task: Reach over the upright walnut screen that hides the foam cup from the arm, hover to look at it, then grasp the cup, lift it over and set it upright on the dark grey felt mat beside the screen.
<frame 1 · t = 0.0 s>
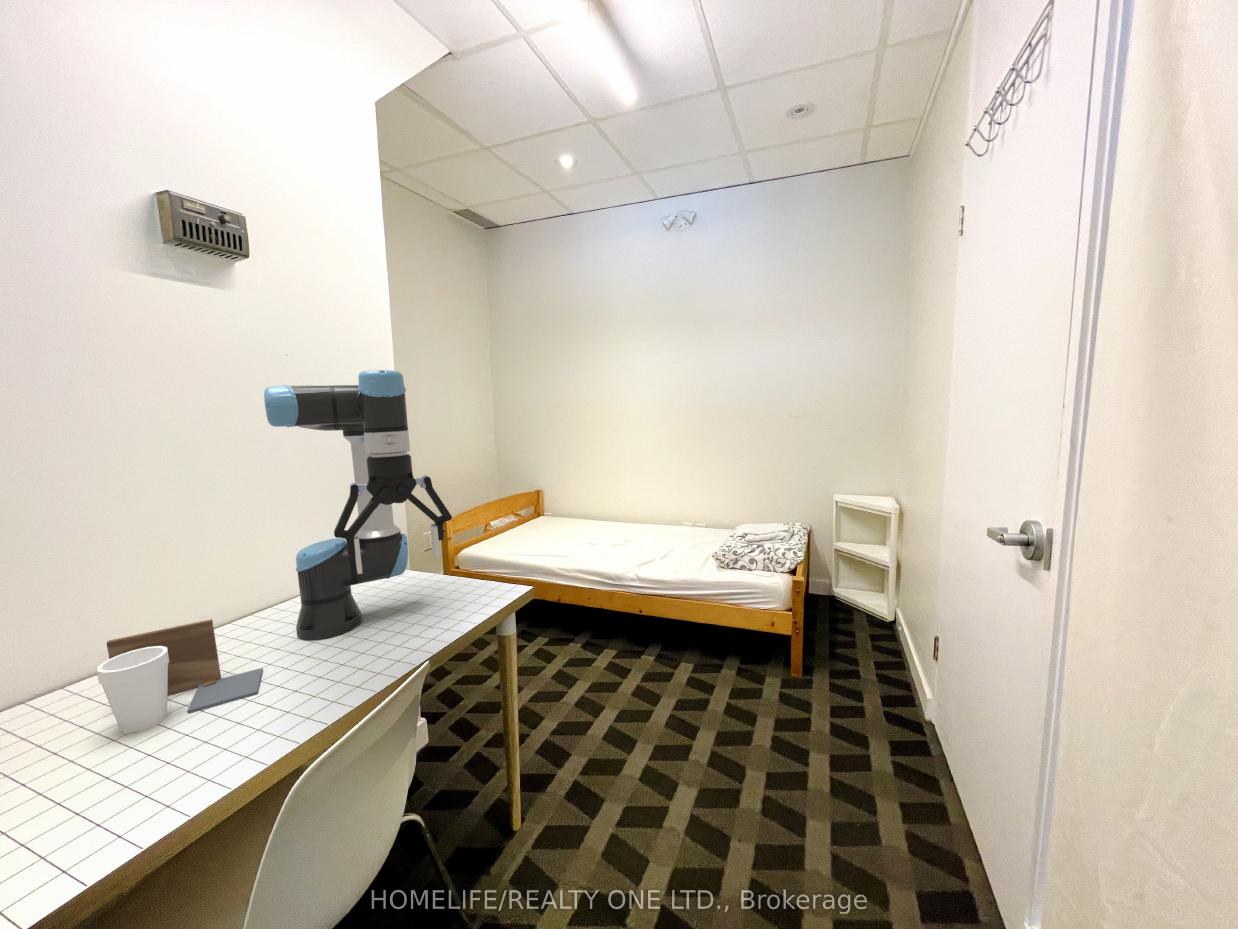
hand: (399, 564, 91), 28 cm above the table, fingers open, 13 cm apart
mat: (228, 690, 100), on the table
foam cup: (144, 723, 91), on the table
screen: (172, 693, 100), on the table
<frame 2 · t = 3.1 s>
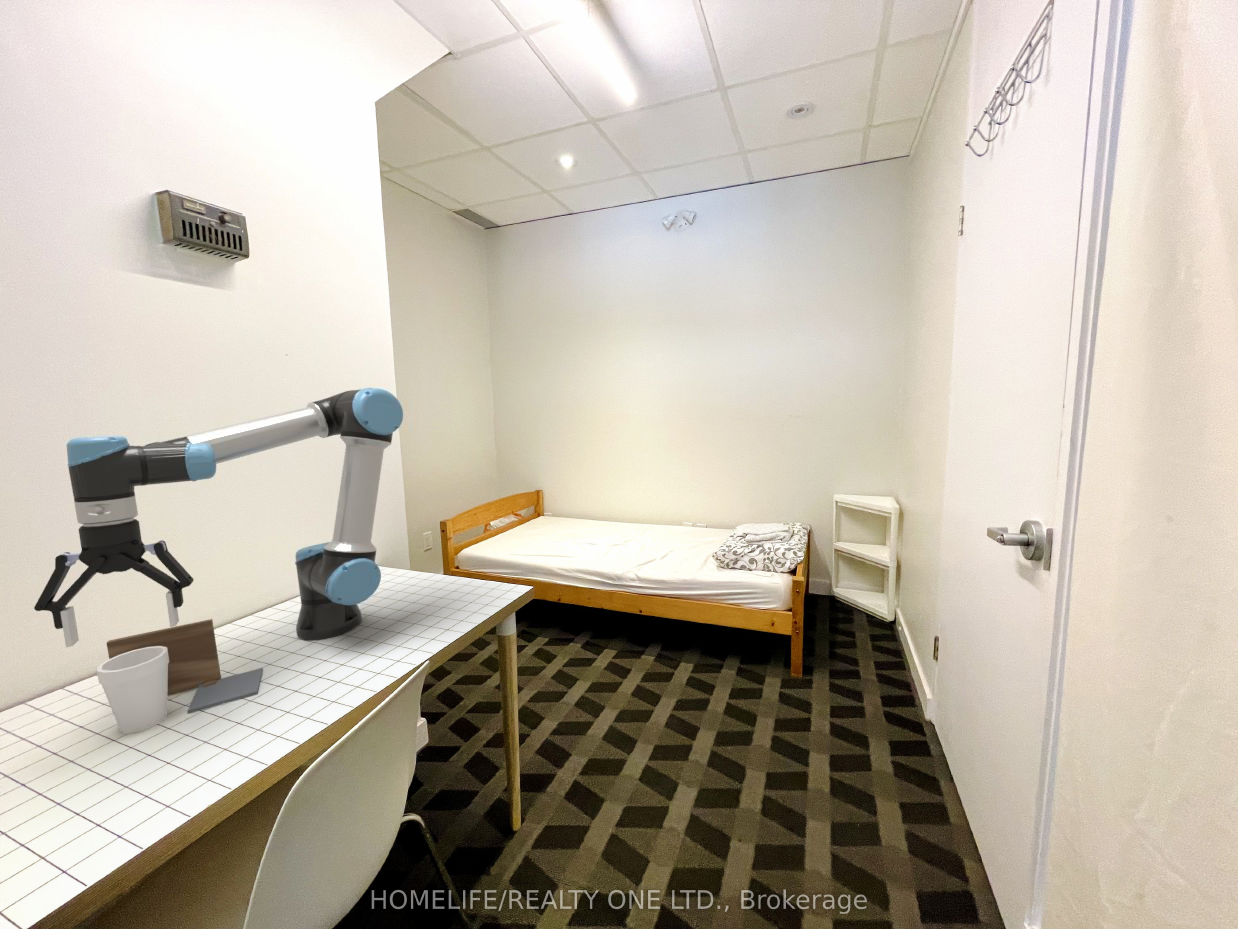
hand: (125, 633, 88), 18 cm above the table, fingers open, 13 cm apart
nothing on the table moved.
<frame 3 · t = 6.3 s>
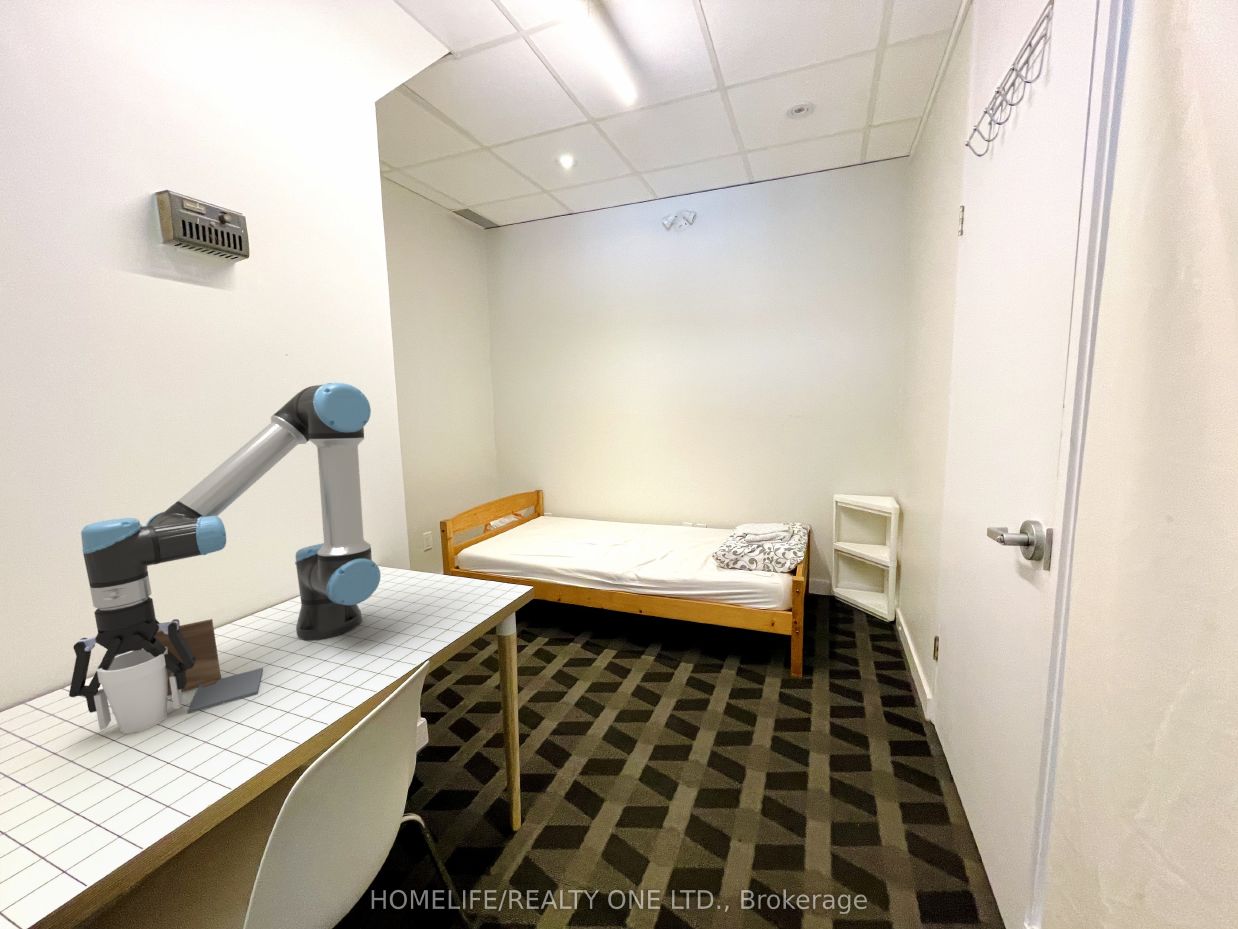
hand: (143, 714, 90), 2 cm above the table, fingers closed on foam cup, 9 cm apart
foam cup: (144, 723, 91), on the table, touching gripper
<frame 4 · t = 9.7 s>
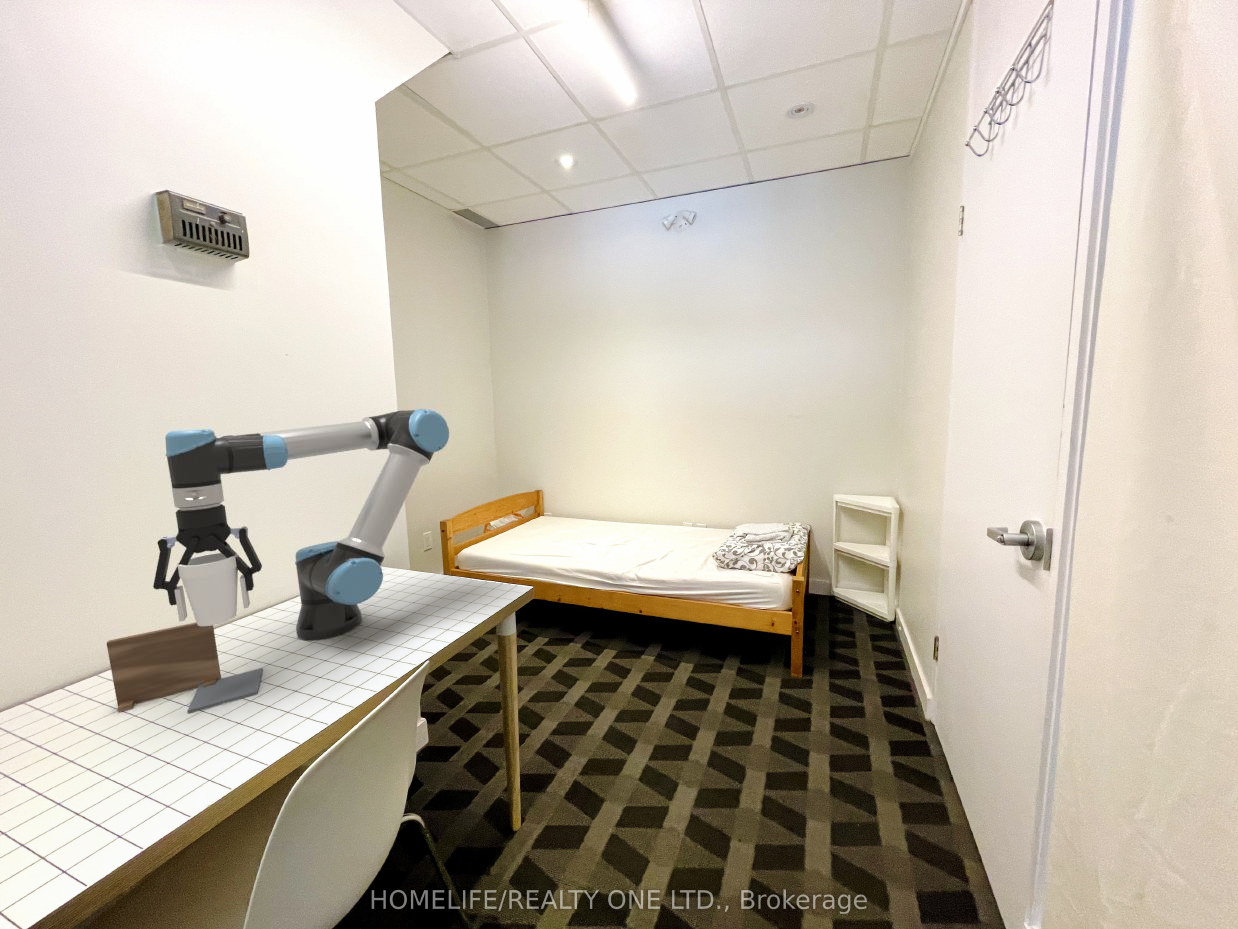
hand: (216, 612, 98), 17 cm above the table, fingers closed on foam cup, 9 cm apart
foam cup: (217, 620, 98), point 16 cm above the table, touching gripper
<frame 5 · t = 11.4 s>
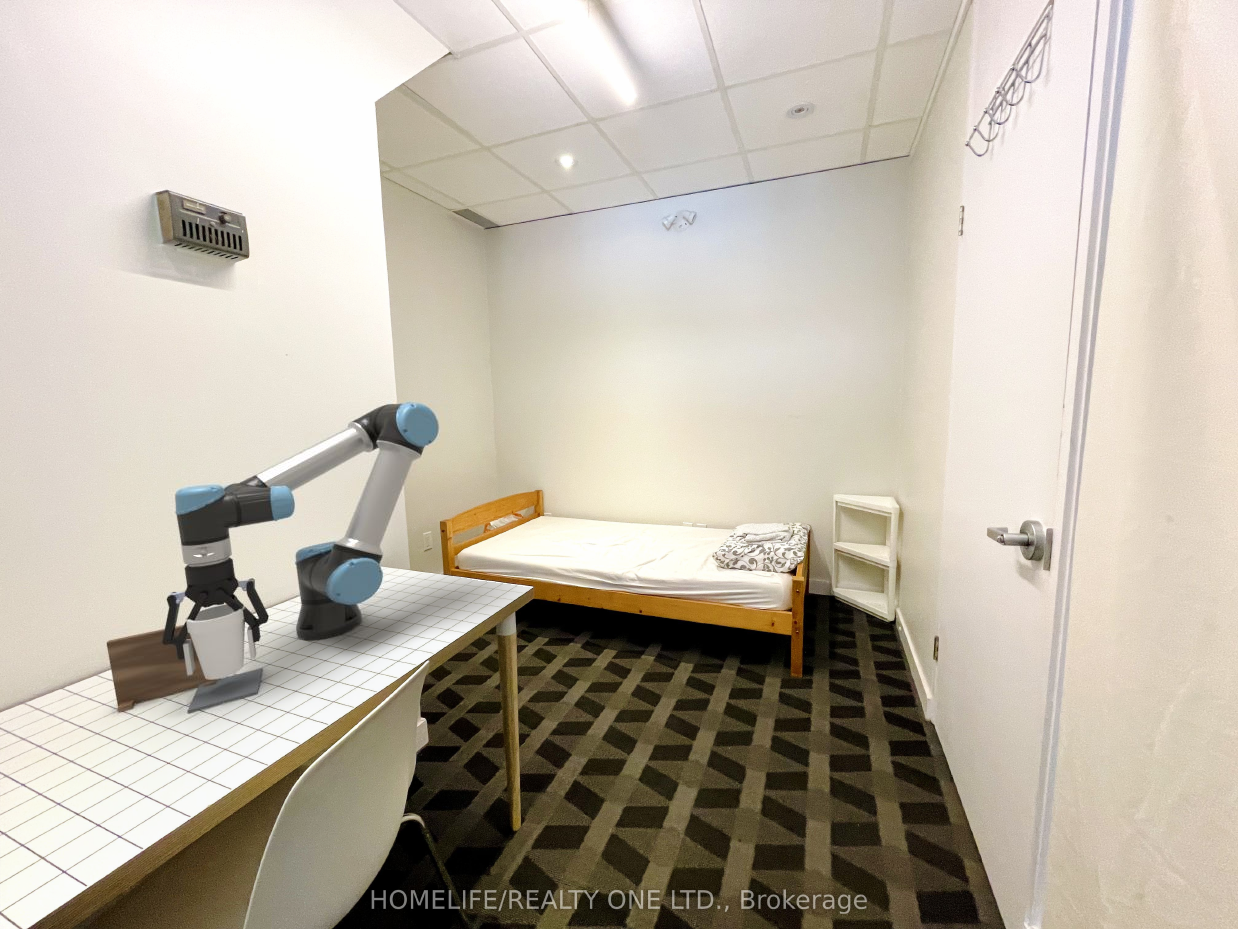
hand: (223, 664, 100), 6 cm above the table, fingers closed on foam cup, 9 cm apart
foam cup: (224, 672, 100), point 4 cm above the table, touching gripper
when the fingers open (4 cm above the table, at t = 13.0 s): foam cup drops 1 cm, resting on mat.
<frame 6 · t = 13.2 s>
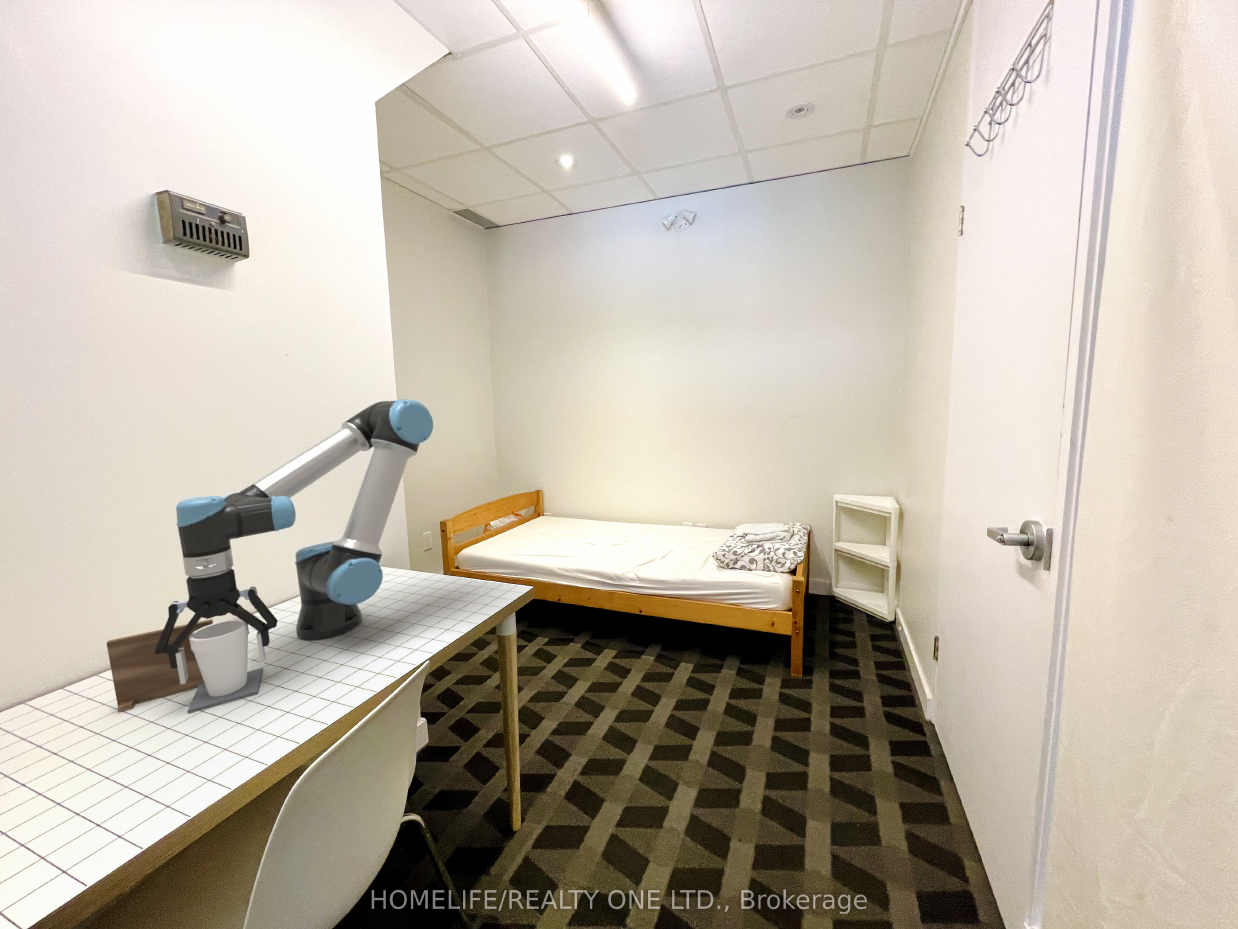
hand: (225, 670, 100), 4 cm above the table, fingers open, 12 cm apart
foam cup: (228, 688, 100), resting on mat
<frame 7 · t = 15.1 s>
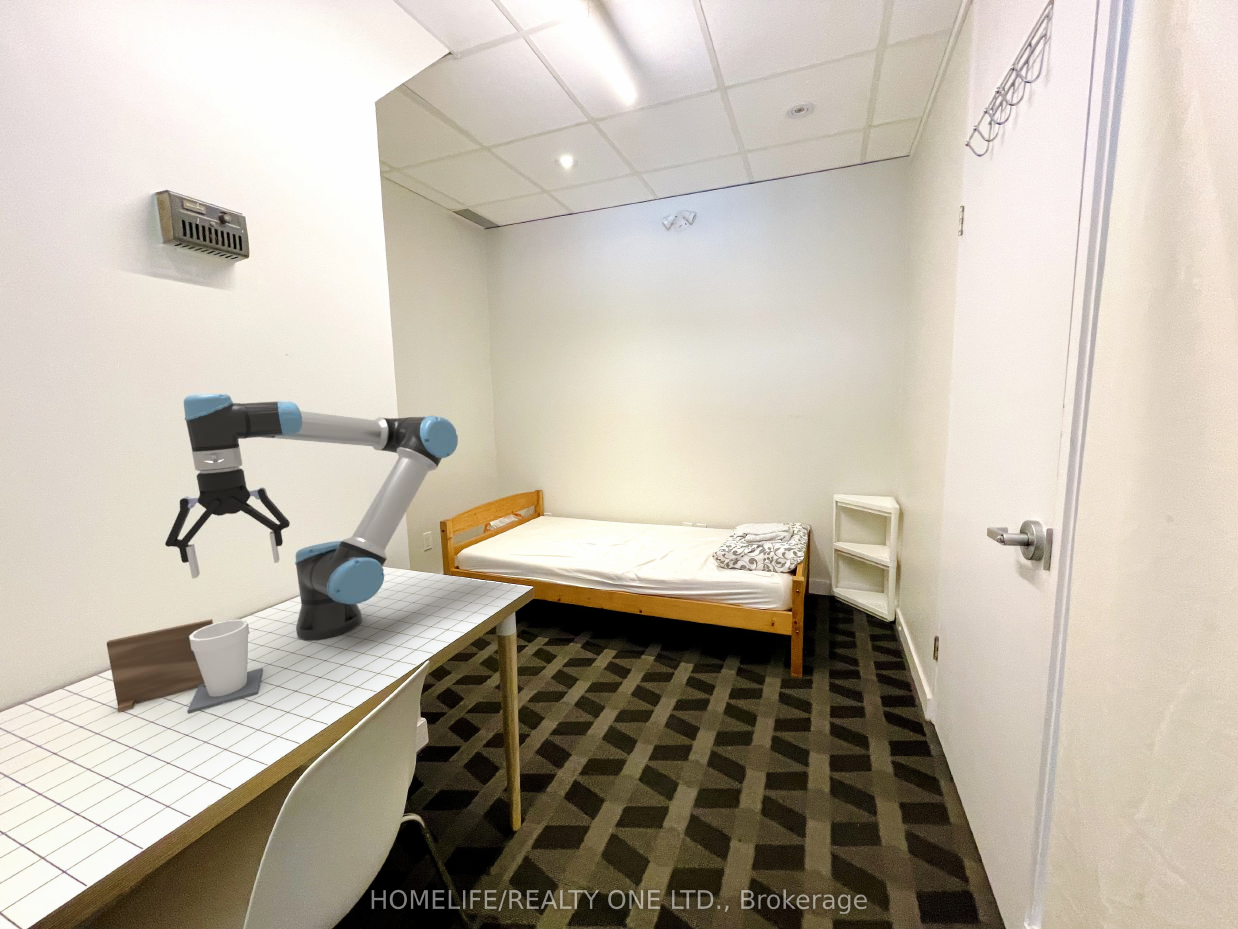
hand: (237, 568, 101), 25 cm above the table, fingers open, 13 cm apart
nothing on the table moved.
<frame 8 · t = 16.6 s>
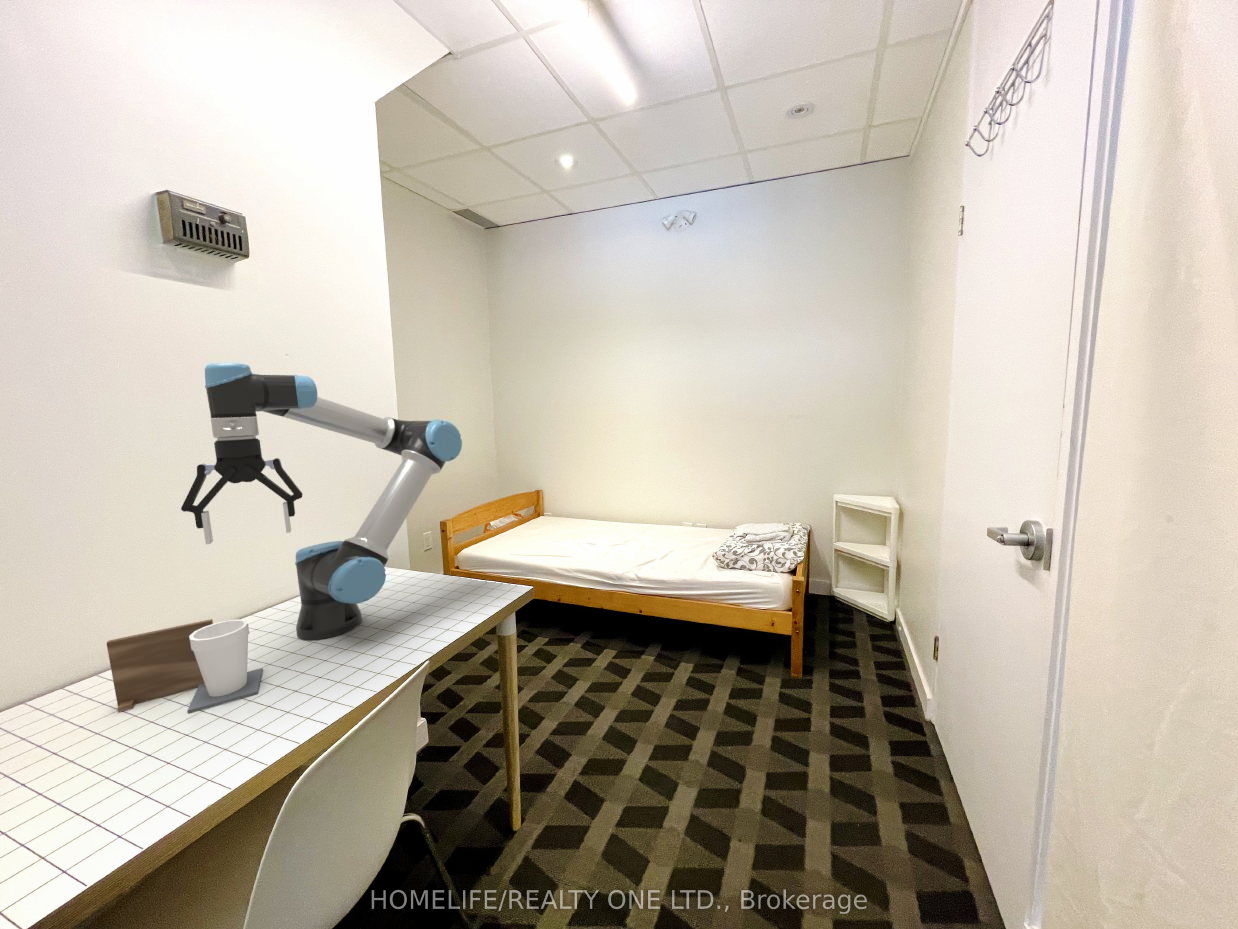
hand: (250, 537, 102), 32 cm above the table, fingers open, 13 cm apart
nothing on the table moved.
at the end: foam cup inside the target area on the mat (0.1 cm from its centre), point 0.4 cm above the mat's base; foam cup tilted 0°; the gripper is holding nothing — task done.
